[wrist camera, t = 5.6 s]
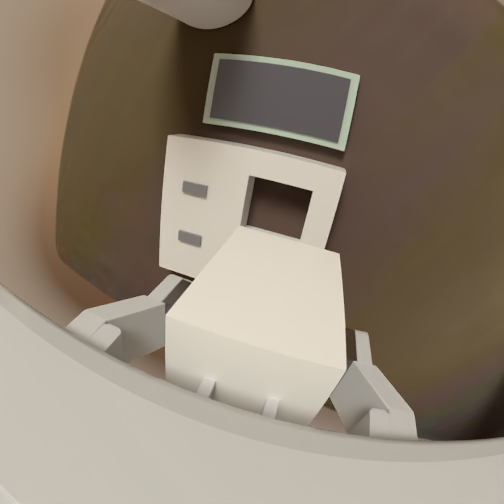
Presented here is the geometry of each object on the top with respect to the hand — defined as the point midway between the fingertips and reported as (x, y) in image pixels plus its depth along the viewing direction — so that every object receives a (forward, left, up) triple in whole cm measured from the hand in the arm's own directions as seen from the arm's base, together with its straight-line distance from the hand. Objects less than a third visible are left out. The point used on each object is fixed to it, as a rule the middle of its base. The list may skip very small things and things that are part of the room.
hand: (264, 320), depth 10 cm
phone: (+4, -8, -19) cm, 21 cm away
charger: (0, 0, -3) cm, 2 cm away
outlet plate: (+5, +4, -18) cm, 19 cm away
